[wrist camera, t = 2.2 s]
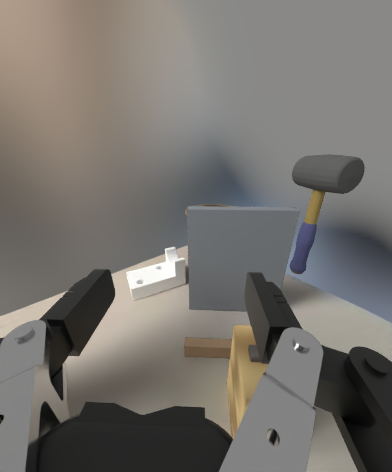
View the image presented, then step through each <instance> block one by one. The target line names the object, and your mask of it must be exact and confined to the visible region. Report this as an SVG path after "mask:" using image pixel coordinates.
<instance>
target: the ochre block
mask: <svg viewBox="0 0 392 472" xmlns="http://www.w3.org/2000/svg"><path fill="white" fill-rule="evenodd" d="M268 365H269V364H261V360H260V356H259V353H258V349H257V345H256V342H255V338H254V334H253V331H252V327H251V326H245V325H234V330H233V338H232V346H231V354H230V362H229V370H228V378H227V390H228V400H229V411H230V421H231V432H232V438H233V439H234V436H235V434H236V432H237V430H238V427H239V425H240V423H241V421H242V418H243V416H244V414H245V412H246V409H247V407H248V405H249V403H250V400H251V398H252V396H253V394H254V392H255V389H256V387H257V385H258V383H259V380H260V378H261V376H262V374H263V373H265V371H266V369H267V367H268Z"/></svg>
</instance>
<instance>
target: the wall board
mask: <svg viewBox="0 0 392 472" xmlns="http://www.w3.org/2000/svg"><path fill="white" fill-rule="evenodd" d="M299 214H300V210H298V209H297V208H294V207H219V206H188V209H187V217H188V264H189V309H193V310H222V311H247V309H246V305H245V299H244V294H245V286H246V278H247V273H248V272H262V274H263V275H264V277H265V280H266V282H273V283H274V284H275V285H276V286H277V287H279V288H280V290H281V287H282V283H283V279H284V275H285V270H286V267H287V263H288V259H289V255H290V251H291V247H292V243H293V238H294V235H295V230H296V226H297V222H298V218H299ZM231 346H232V339H211V338H187V337H185V346H184V347H185V356H193V357H215V358H230V354H231Z"/></svg>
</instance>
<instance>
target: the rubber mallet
mask: <svg viewBox="0 0 392 472" xmlns="http://www.w3.org/2000/svg"><path fill="white" fill-rule="evenodd" d="M363 174H364V163H363V161H362V160H361V159H360V158H357V157H351V156H341V155H315V156H306V157H303V158H301V159H300V160H299V161H298V162H297V163H296V164H295V166H294V168H293V171H292V178H293V181H294V182H295V183H296V184H298V185H300V186H303V187H307V188H310V189H313V192H312V196H311V199H310V203H309V206H308V210H307V214H306V218H305V221H304V222H303V224H302V226H301V228H300V231H299V234H298V238H297V243H296V250H295V253H294V257H293V260H292V261H291V263H290V268H291V271H292V272H293V273H296V274H302V273H303V272H304V271H305V270H306V261H307V257H308V254H309V251H310V249H311V247H312V245H313V242H314V238H315V234H316V223H317V219H318V216H319V212H320V209H321V205H322V202H323V198H324V195H325V192H333V193H340V194H344V193H348V192H350V191H351V190H353V189H354V188H355V187H356V186H357V185H358V184H359V183H360V181H361V179H362V177H363Z"/></svg>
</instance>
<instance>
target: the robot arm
mask: <svg viewBox="0 0 392 472" xmlns="http://www.w3.org/2000/svg"><path fill="white" fill-rule="evenodd" d="M114 297H115V288H114V284H113V280H112V276H111V272H110V270H108V269H106V270H105V269H95V270H93V271H92V272H91V273H90V274H89V275H88V276H87V277H86V278H84V279H82V280H80V281H79V282H77V283H75V284H74V285H73V286H72V287H71V288H70V289H69V290H68V292H66V293H65V294H64V295H63V297H62V298H60V299H59V300H58V301H57V302H56V303H55V304H54V305H53V306H52V307H51V308H50V309H49V310H48V311H47V312H46V313H45V314H44V315H43V316H42V317H41V318H40V319H39V320H35V321H30V322H27V323H25V324H22V325H20V326H19V327H17V328H15V329H14V330H12V331H11V332H10V333H9V334H8V335H7V336H6V337H4V338H0V472H306V468H307V463H308V457H309V451H310V445H311V439H312V434H313V428H314V422H315V414H316V410H315V408H314V406H317V407H319V408H322V409H324V410H327V411H329V412H331V413H332V414H333V417H334V419H335V421H336V423H337V426H338V428H339V430H340V432H341V434H342V437H343V439H344V441H345V443H346V446H347V448H348V450H349V452H350V455H351V457H352V459H353V461H354V464H355V466H356V468H357V470H358V472H392V362H391V361H390V360H388V359H387V358H386V357H384V356H383V355H381V354H379V353H378V352H376V351H374V350H371V349H369V348H365V347H354V348H352V349H351V350H350V352H349V354H347V353H344V352H340V351H337V350H334V349H331V348H328V347H325V346H322V345H321V344H320V343H319V341H318V340H317V339H316V338H315V337H314V336H313V335H312V334H310V333H309V332H307V331H305V330H303V329H302V327H301V326H300V324H299V322H298V320H297V319H296V317H295V315H294V313H293V311H292V310H291V308H290V306H289V304H287V301H286V299H285V297H284V295H283V294H282V292H281V290H280V288H279V287H277V286H276V285H275V284H274V283H273V282H266V280H265V277H264V275H263V274H262V272H248V273H247V278H246V286H245V294H244V299H245V305H246V309H247V313H248V316H249V320H250V324H251V327H252V331H253V334H254V338H255V342H256V345H257V349H258V353H259V356H260V360H261V364H269V365H268V367H267V369H266V371H265V373H263V374H262V376H261V378H260V380H259V383H258V385H257V387H256V389H255V392H254V394H253V396H252V398H251V400H250V403H249V405H248V407H247V409H246V412H245V414H244V416H243V418H242V421H241V423H240V425H239V427H238V430H237V432H236V434H235V436H234V439H233V438H232V437H231V436H230V435H229V434H228V433H227V432H226V431H225V430H224V429H223V428H221V427H220V426H219V425H218V424H216V423H214V422H213V421H211V420H209V419H206V418H205V408H202V407H181V406H174V407H170V408H167V409H163V410H160V411H156V412H153V413H149V414H146V415H140V414H137V413H135V412H133V411H131V410H128V409H126V408H124V407H122V406H119V405H117V404H115V403H96V402H86V403H85V405H84V407H83V409H82V411H81V414H78V415H76V416H73V417H71V418H70V414H69V411H68V404H67V381H66V364H65V360H66V359H67V357H68V356H79V355H80V354H81V352H82V350H83V349H84V347H85V346H86V344H87V342H88V341H89V339H90V337H91V336H92V334H93V333H94V331H95V329H96V328H97V326H98V325H99V323H100V321H101V320H102V318H103V317H104V315H105V313H106V312H107V310H108V308H109V307H110V305H111V304H112V302H113V300H114Z"/></svg>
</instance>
